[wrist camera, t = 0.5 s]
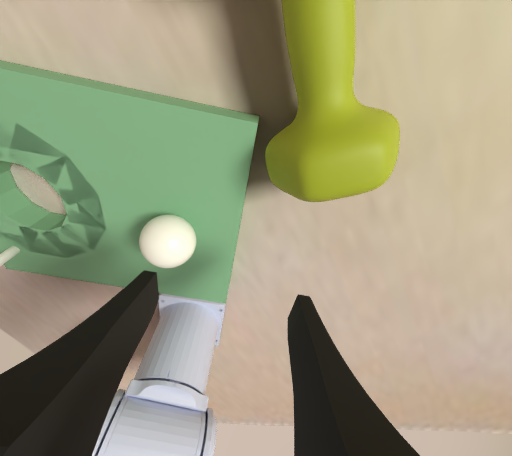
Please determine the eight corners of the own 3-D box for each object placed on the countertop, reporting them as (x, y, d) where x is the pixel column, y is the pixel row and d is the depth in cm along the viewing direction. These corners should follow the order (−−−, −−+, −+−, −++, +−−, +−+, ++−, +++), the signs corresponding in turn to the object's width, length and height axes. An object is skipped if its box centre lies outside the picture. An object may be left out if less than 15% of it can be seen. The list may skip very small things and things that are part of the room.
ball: (200, 248, 20) (187, 283, 17) (154, 240, 20) (132, 274, 17) (203, 210, 18) (188, 241, 15) (151, 200, 18) (124, 230, 15)
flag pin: (42, 237, 24) (-29, 291, 18) (34, 235, 24) (-41, 289, 18) (33, 214, 22) (-50, 265, 17) (24, 212, 22) (-61, 263, 17)
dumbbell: (193, -177, 10) (87, -517, 4) (390, -277, 9) (639, -993, 3) (270, 174, 19) (271, 223, 13) (373, 152, 18) (426, 196, 12)
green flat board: (229, 285, 27) (225, 303, 25) (17, 250, 25) (-5, 266, 23) (259, 116, 16) (257, 123, 14) (-93, 40, 15) (-151, 36, 13)
